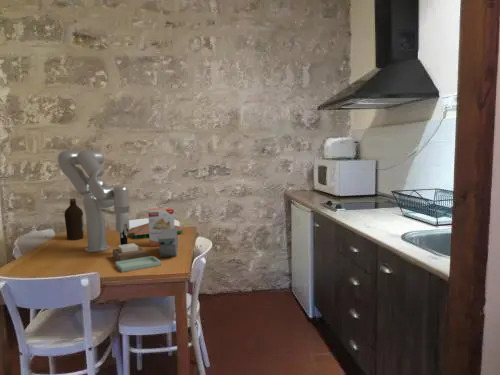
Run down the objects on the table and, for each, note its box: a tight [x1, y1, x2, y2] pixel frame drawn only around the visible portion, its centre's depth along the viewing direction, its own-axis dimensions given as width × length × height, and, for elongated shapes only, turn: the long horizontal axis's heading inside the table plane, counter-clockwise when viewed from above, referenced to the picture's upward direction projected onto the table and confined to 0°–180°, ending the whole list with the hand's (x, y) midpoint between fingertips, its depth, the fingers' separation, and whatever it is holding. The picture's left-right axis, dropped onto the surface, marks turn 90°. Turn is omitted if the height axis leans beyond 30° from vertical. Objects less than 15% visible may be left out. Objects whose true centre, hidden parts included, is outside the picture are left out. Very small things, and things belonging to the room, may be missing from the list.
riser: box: [112, 245, 149, 262], centre depth 197 cm, size 16×13×4 cm
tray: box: [114, 255, 162, 273], centre depth 185 cm, size 12×18×2 cm, turn 122°
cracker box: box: [148, 207, 175, 248], centre depth 224 cm, size 14×6×21 cm, turn 102°
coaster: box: [117, 242, 139, 253], centre depth 199 cm, size 8×8×2 cm
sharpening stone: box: [158, 228, 179, 258], centre depth 205 cm, size 25×8×11 cm, turn 7°
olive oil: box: [63, 198, 84, 241], centre depth 246 cm, size 11×11×25 cm
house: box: [128, 222, 184, 240], centre depth 255 cm, size 23×33×8 cm
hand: (124, 244), depth 207 cm, fingers closed
